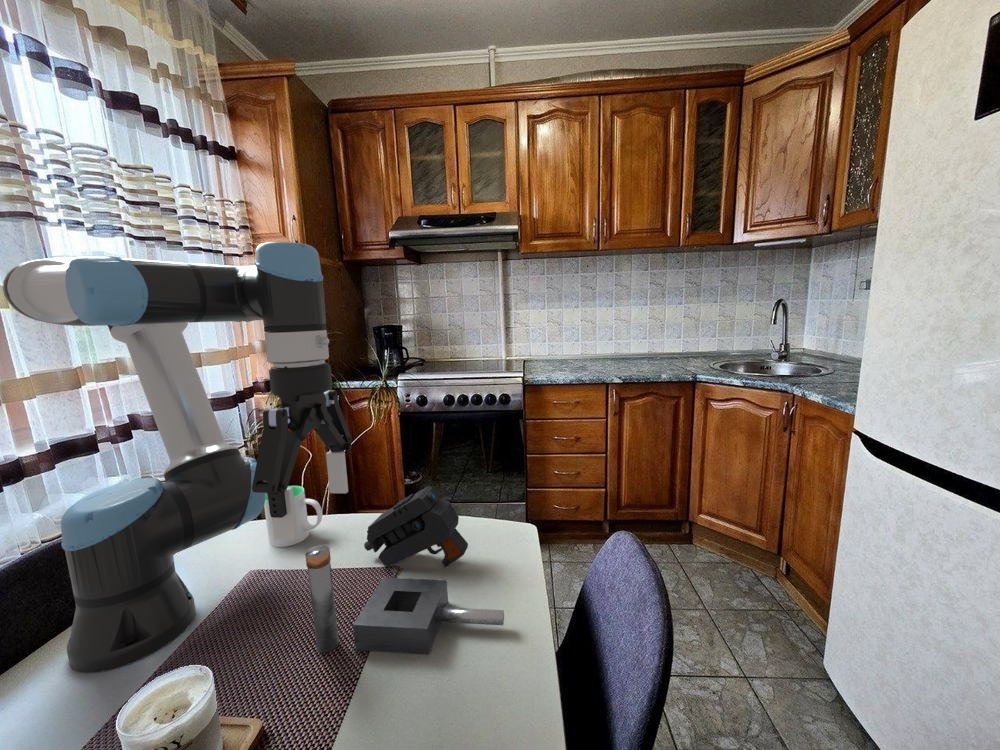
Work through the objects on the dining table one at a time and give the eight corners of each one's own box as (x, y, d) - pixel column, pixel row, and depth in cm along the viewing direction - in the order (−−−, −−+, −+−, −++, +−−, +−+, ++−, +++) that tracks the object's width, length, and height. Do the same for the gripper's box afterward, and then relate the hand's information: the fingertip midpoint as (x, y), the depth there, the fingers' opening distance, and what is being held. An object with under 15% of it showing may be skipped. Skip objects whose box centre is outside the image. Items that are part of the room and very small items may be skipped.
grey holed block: (355, 649, 61) (352, 624, 61) (385, 599, 72) (383, 577, 71) (499, 659, 58) (497, 632, 58) (507, 605, 69) (506, 582, 69)
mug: (332, 527, 98) (327, 484, 97) (316, 546, 90) (311, 499, 89) (281, 529, 99) (276, 486, 97) (261, 547, 91) (255, 501, 89)
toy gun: (468, 560, 77) (425, 491, 77) (388, 599, 82) (347, 534, 82) (477, 543, 83) (436, 478, 83) (402, 580, 88) (363, 519, 88)
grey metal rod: (311, 653, 61) (300, 556, 59) (323, 636, 64) (313, 544, 62) (332, 654, 61) (321, 557, 58) (343, 637, 64) (333, 544, 62)
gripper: (264, 377, 44) (286, 565, 47) (366, 353, 69) (376, 478, 72) (199, 378, 45) (225, 563, 48) (322, 354, 69) (334, 478, 73)
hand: (315, 512), depth 60 cm, fingers open, 13 cm apart
